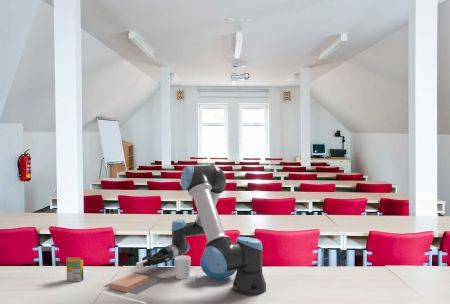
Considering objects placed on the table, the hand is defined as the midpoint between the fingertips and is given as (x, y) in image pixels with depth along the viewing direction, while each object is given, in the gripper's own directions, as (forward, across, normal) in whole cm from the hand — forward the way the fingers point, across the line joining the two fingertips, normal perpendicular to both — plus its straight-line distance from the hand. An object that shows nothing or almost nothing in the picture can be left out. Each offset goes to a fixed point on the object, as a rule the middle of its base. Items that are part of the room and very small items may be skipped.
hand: (137, 266), depth 189 cm
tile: (-2, 0, -6) cm, 7 cm away
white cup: (-16, -15, -8) cm, 23 cm away
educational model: (-25, -31, -8) cm, 40 cm away
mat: (+1, 0, -8) cm, 8 cm away
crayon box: (+12, +29, -8) cm, 32 cm away
